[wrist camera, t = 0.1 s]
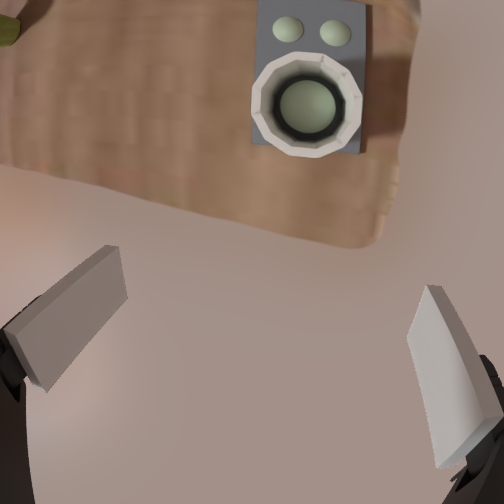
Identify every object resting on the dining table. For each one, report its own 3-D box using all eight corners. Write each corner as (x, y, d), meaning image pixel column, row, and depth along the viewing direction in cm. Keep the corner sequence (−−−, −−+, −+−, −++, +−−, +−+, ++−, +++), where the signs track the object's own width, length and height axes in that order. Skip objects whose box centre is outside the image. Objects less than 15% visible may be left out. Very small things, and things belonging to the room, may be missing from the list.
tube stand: (259, -3, 28) (239, -38, 18) (364, 5, 26) (380, -29, 16) (253, 143, 37) (231, 153, 27) (358, 153, 35) (374, 168, 25)
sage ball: (284, 81, 32) (278, 75, 26) (335, 86, 31) (339, 80, 26) (281, 129, 34) (275, 131, 29) (331, 134, 33) (335, 137, 28)
